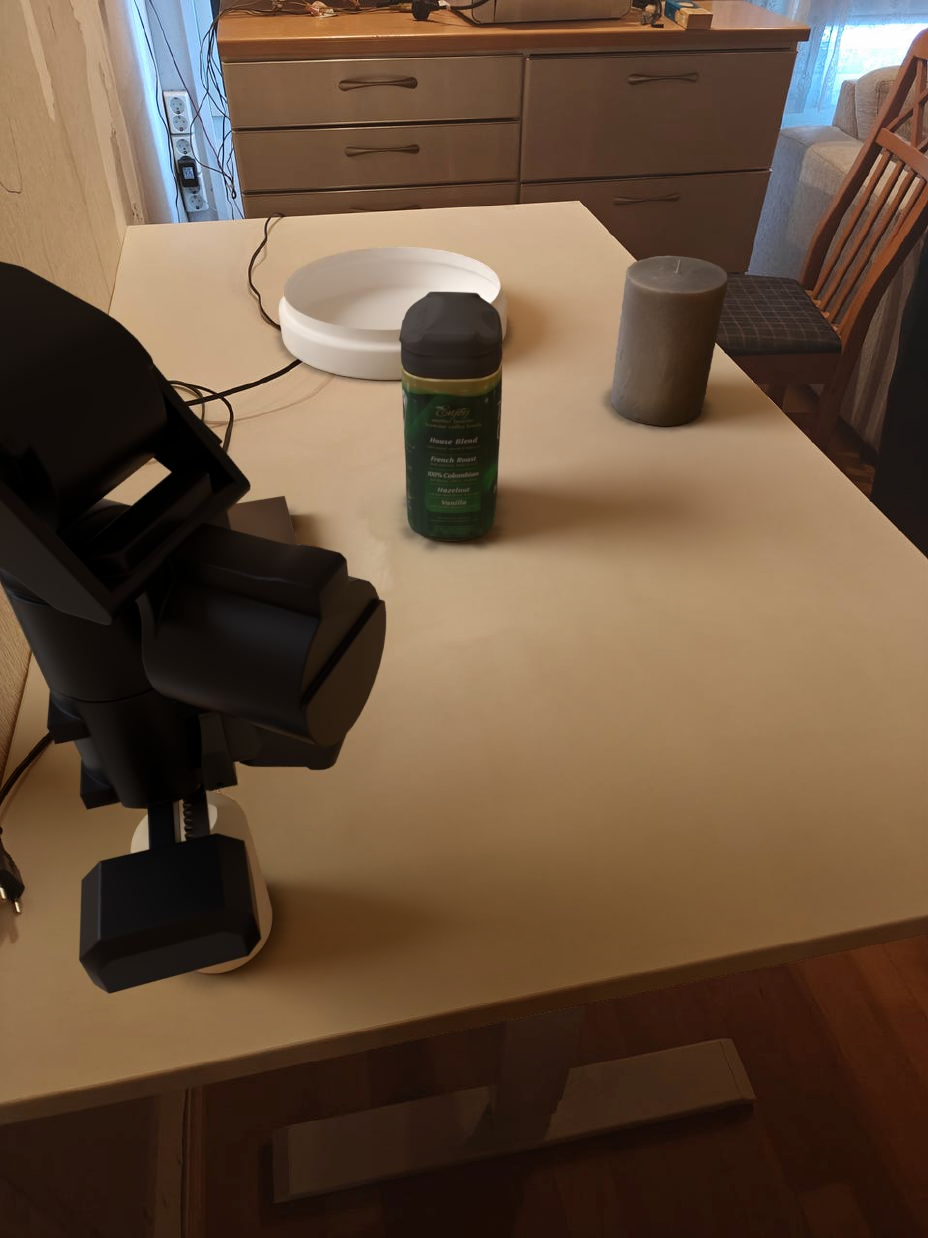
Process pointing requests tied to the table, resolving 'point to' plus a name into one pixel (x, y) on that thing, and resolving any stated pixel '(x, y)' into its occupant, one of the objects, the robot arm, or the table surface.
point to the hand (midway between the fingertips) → (201, 870)
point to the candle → (234, 824)
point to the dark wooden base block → (263, 519)
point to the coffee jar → (451, 414)
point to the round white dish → (371, 305)
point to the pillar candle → (667, 338)
